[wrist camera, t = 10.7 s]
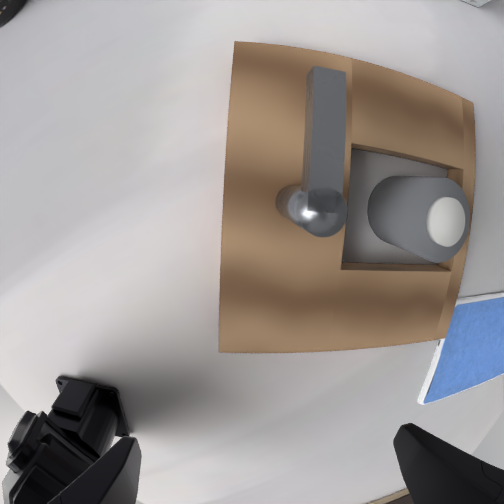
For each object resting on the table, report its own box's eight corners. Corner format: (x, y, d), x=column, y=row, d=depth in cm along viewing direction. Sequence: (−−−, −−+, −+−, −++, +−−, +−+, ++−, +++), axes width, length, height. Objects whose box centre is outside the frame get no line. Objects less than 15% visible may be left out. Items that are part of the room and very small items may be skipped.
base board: (433, 328, 22) (445, 338, 21) (219, 337, 21) (218, 352, 19) (458, 106, 18) (473, 102, 16) (234, 53, 16) (234, 41, 14)
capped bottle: (417, 245, 21) (469, 266, 14) (364, 241, 20) (411, 264, 14) (424, 181, 19) (479, 185, 13) (370, 172, 19) (421, 170, 13)
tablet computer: (412, 402, 25) (418, 409, 24) (445, 296, 23) (453, 301, 21) (509, 366, 27) (514, 370, 26) (535, 283, 24) (541, 286, 23)
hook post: (307, 220, 17) (345, 238, 12) (274, 218, 17) (297, 236, 11) (313, 105, 16) (352, 73, 10) (281, 101, 16) (306, 64, 10)
